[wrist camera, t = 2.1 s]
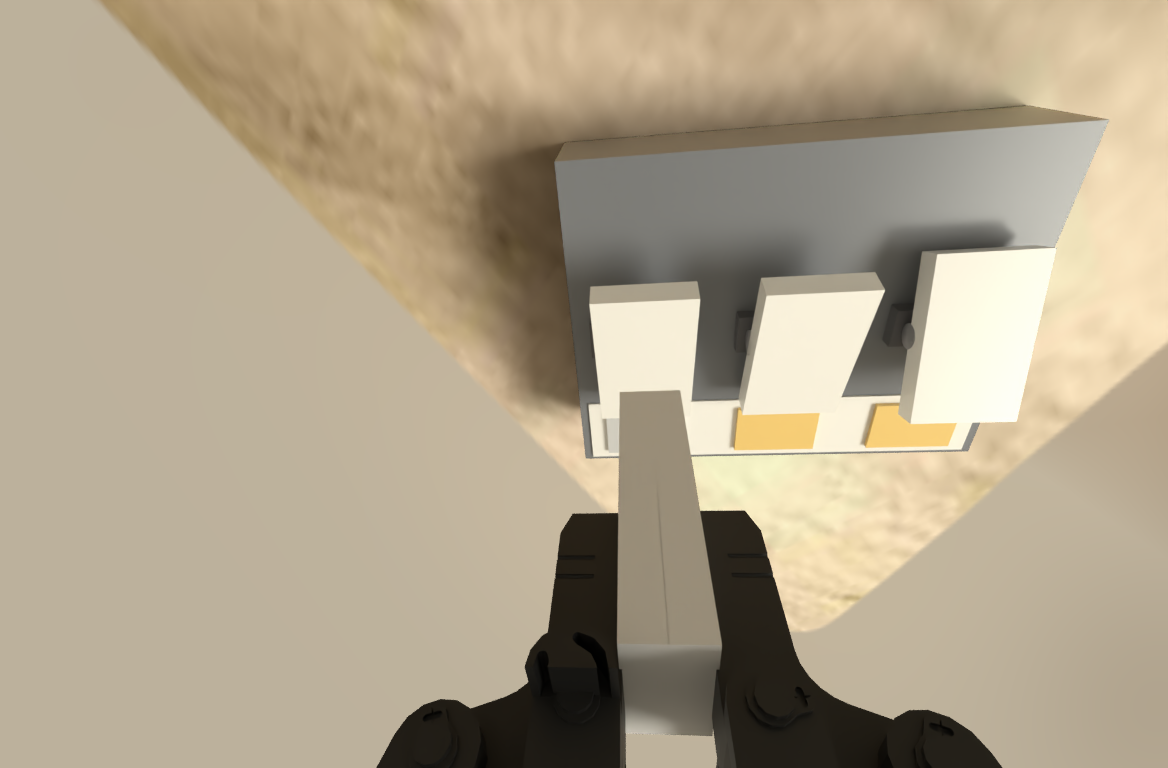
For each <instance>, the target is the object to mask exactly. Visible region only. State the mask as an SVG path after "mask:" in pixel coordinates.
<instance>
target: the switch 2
mask: <svg viewBox="0 0 1168 768" xmlns="http://www.w3.org/2000/svg"><path fill="white" fill-rule="evenodd" d="M884 292H885V289H884V287H883V285H882V283H881V282H880V280H879V278H878V276H877V274H876V273H875V272H865V273H846V274H827V275H807V276H788V277H768V278H761V281H760V287H759V292H758V297H757V302H756V308H755V313H754V318H753V324H752V329H751V330H747V332H746V340H745V343H746V352H747V355H746V361H745V366H744V371H743V377H742V382H741V387H740V393H739V402H740V406H741V411H742V415H761V414H799V413H835V411H836V409H837V406H838V404H839V402H840V399H841V397H842V394H843V392H844V389H845V387H846V384H847V382H848V380H849V377H850V375H851V372H852V370H853V367H854V365H855V363H856V360H857V358H858V355H859V353H860V350H861V348H862V345H863V343H864V341H865V338H866V336H867V333H868V331H869V328H870V326H871V324H872V321H873V319H874V316H875V314H876V311H877V309H878V306H879V304H880V302H881V299H882V297H883V294H884Z"/></svg>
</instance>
